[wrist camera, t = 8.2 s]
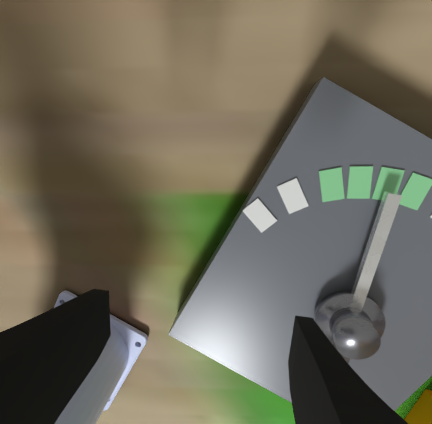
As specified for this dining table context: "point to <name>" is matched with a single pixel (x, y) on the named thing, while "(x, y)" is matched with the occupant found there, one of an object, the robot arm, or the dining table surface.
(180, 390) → the dining table surface
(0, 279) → the dining table surface
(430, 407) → the orange juice
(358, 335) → the dial pointer
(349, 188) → the dial plate
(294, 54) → the dining table surface
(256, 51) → the dining table surface
